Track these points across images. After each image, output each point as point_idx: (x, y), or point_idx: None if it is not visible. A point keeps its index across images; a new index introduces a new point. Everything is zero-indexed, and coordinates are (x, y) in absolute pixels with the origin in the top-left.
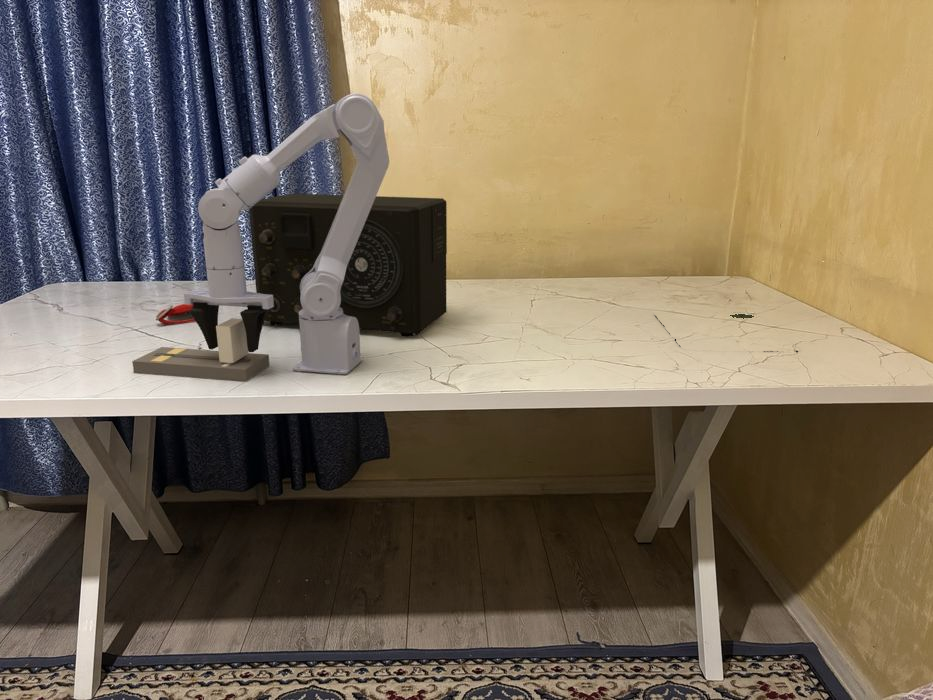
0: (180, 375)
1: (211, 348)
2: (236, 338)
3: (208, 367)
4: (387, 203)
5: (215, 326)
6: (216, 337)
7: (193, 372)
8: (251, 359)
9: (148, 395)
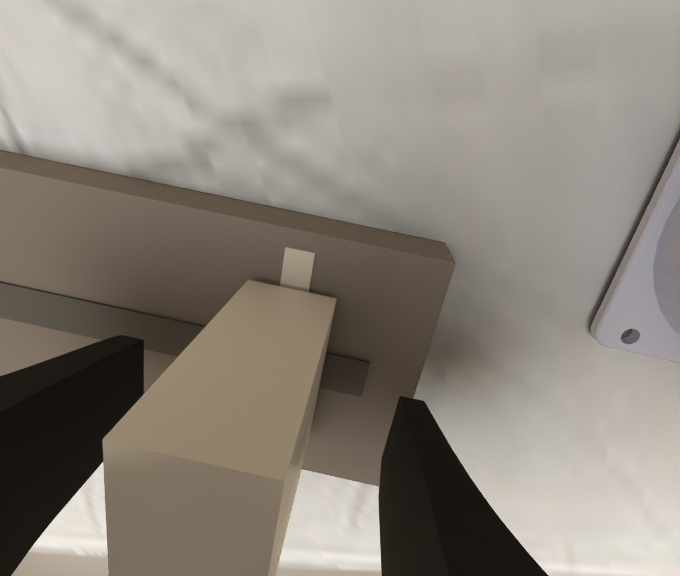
0: None
1: None
2: (289, 506)
3: None
4: None
5: (22, 433)
6: (101, 388)
7: None
8: (373, 352)
9: (104, 531)
